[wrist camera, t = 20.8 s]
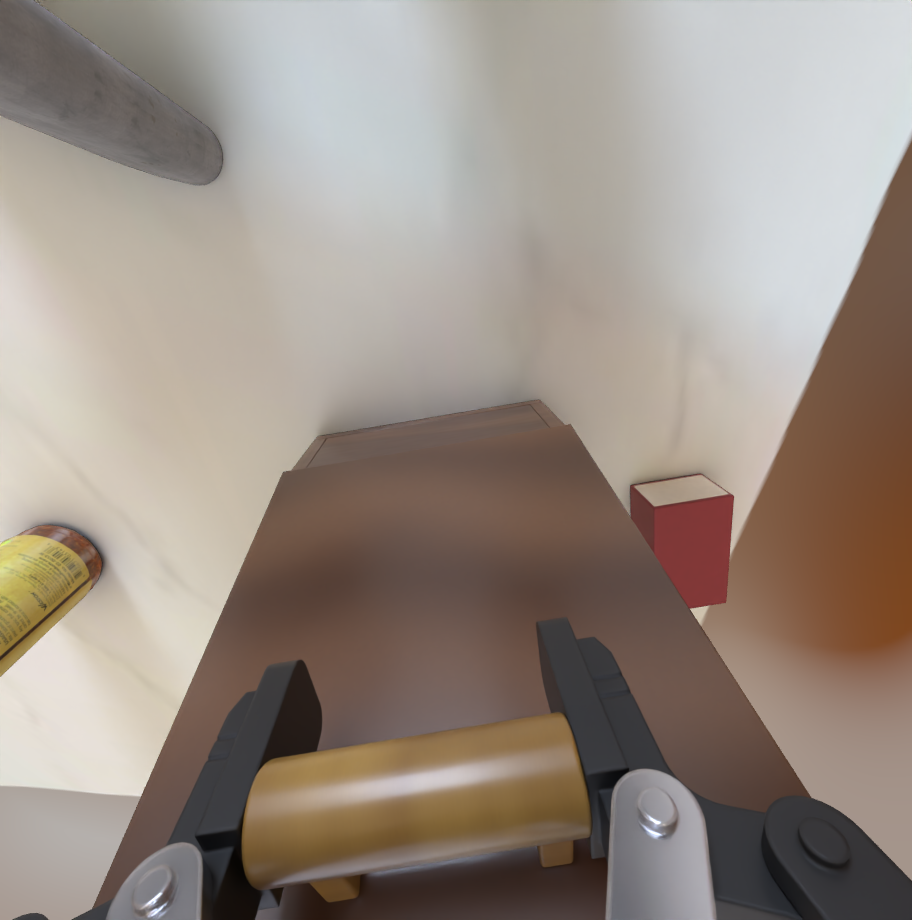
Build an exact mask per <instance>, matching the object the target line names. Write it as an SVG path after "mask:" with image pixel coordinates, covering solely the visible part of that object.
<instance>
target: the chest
mask: <svg viewBox="0 0 912 920" xmlns="http://www.w3.org/2000/svg"><path fill="white" fill-rule="evenodd" d="M562 425H565V424H564V423H563V422H562V421H561V420H560V419H559V418H558V417H557V416H556V415H555V414H554V413H553V412H552V411H551V410H550V409H549V408H548V407H547V406H546V405H545V404H544V403H543V402H542V401H541V400H533V401H527V402H521V403H515V404H509V405H503V406H497V407H491V408H485V409H479V410H473V411H467V412H461V413H455V414H449V415H443V416H437V417H431V418H425V419H419V420H413V421H407V422H401V423H395V424H389V425H383V426H377V427H371V428H365V429H359V430H353V431H347V432H341V433H335V434H329V435H323V436H318V437H316V439H315V440H314V441H313V442H312V444H311V445H310V446H309V448H308V449H307V450H306V452H305V453H304V454H303V456H302V457H301V458H300V460H299V461H298V462H297V464H296V465H295V466H294V467H293V469H292V470H298V469H304V468H310V467H316V466H322V465H328V464H334V463H340V462H346V461H352V460H358V459H364V458H370V457H376V456H382V455H388V454H394V453H400V452H406V451H412V450H418V449H424V448H430V447H436V446H442V445H448V444H454V443H460V442H466V441H472V440H478V439H484V438H490V437H496V436H502V435H508V434H514V433H520V432H526V431H532V430H538V429H544V428H550V427H556V426H562ZM292 470H291V471H292Z"/></svg>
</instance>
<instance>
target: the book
mask: <svg viewBox="0 0 912 920" xmlns="http://www.w3.org/2000/svg"><path fill="white" fill-rule="evenodd" d="M630 500H631V519H632V520H633V522H634V523H635V525H636V527H637V528H638V530H639V531H640V533H641V534H642V536H643V537H644V539H645V541H646V542H647V544H648V545H649V547H650V548H651V550H652V551H653V553H654V554H655V556H656V558H657V559H658V561H659V562H660V564H661V565H662V567H663V568H664V570H665V572H666V573H667V575H668V576H669V578H670V579H671V581H672V582H673V584H674V586H675V587H676V589H677V590H678V592H679V593H680V595H681V596H682V598H683V599H684V601H685V603H686V604H687V606H688V607H689V609H690V608H696V607H702V606H708V605H714V604H721V603H726V597H727V584H728V570H729V557H730V543H731V529H732V515H733V502H734V496H733V495H732V494H730V493H729V492H727V491H726V490H725V489H723V488H722V487H720V486H719V485H717V484H716V483H714V482H713V481H711V480H710V479H708V478H707V477H705V476H704V475H703V474H696V475H690V476H684V477H678V478H672V479H666V480H660V481H654V482H648V483H642V484H636V485H631V486H630Z"/></svg>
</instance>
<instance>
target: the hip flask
mask: <svg viewBox="0 0 912 920" xmlns="http://www.w3.org/2000/svg"><path fill="white" fill-rule="evenodd" d="M0 116H3V117H5V118H8V119H10V120H13V121H15V122H18V123H20V124H23V125H25V126H28V127H30V128H33V129H35V130H38V131H40V132H42V133H45V134H47V135H50V136H52V137H55V138H57V139H60V140H62V141H65V142H67V143H70V144H72V145H75V146H77V147H80V148H82V149H85V150H87V151H90V152H92V153H95V154H97V155H100V156H102V157H104V158H107V159H110V160H112V161H115V162H118V163H121V164H123V165H126V166H129V167H132V168H135V169H138V170H141V171H144V172H147V173H150V174H153V175H157V176H161V177H164V178H168V179H171V180H175V181H180V182H184V183H188V184H192V185H205V184H208V183H210V182H212V181H213V180H214V179H215V178H216V177H217V176H218V174H219V173H220V170H221V167H222V160H223V158H222V151H221V147H220V144H219V142H218V140H217V138H216V136H215V135H214V133H213V132H212V131H211V130H210V129H209V128H208V127H207V126H205V125H204V124H203V123H202V122H200V121H199V120H197V119H196V118H195V117H193V116H192V115H191V114H189V113H188V112H186V111H185V110H184V109H182V108H181V107H180V106H178V105H177V104H175V103H174V102H173V101H171V100H170V99H169V98H167V97H166V96H164V95H163V94H162V93H160V92H159V91H158V90H156V89H155V88H153V87H152V86H151V85H149V84H148V83H147V82H145V81H144V80H142V79H141V78H140V77H138V76H137V75H136V74H134V73H133V72H131V71H130V70H129V69H127V68H126V67H125V66H123V65H122V64H120V63H119V62H118V61H116V60H115V59H114V58H112V57H111V56H110V55H108V54H107V53H105V52H104V51H103V50H101V49H100V48H99V47H97V46H96V45H94V44H93V43H92V42H90V41H89V40H88V39H86V38H85V37H83V36H82V35H81V34H79V33H78V32H77V31H75V30H74V29H72V28H71V27H70V26H68V25H67V24H66V23H64V22H63V21H61V20H60V19H59V18H57V17H56V16H55V15H53V14H52V13H50V12H49V11H48V10H46V9H45V8H44V7H42V6H41V5H39V4H38V3H37V2H35V1H34V0H0Z"/></svg>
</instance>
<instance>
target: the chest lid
mask: <svg viewBox="0 0 912 920" xmlns="http://www.w3.org/2000/svg"><path fill="white" fill-rule="evenodd" d="M563 617H567V618H568V620H569V622H570V625H571V627H572V630H573V632H574V634H575V637H576V639H583V638H589V637H596V638H597V639H598V640H599V641H600V642H601V643H602V644H603V645H604V646H605V647H607V648H608V649H609V650H610V651H611V652H612V654H613V656H614V658H615V660H616V662H617V664H618V666H619V668H620V670H621V672H622V676H623V677H624V678H625V680H626V682H627V684H628V686H629V688H630V691H631V694H633V696H634V698H635V700H636V702H637V704H638V706H639V708H640V710H641V713H642V715H643V717H644V719H645V721H646V723H647V725H648V727H649V729H650V731H651V733H652V735H653V737H654V739H655V741H656V743H657V745H658V747H659V749H660V751H661V753H662V755H663V757H664V759H665V761H666V763H667V765H668V766H669V768H670V769H671V771H672V772H673V773H674V775H675V776H676V777H677V778H678V779H679V780H680V781H681V782H682V783H683V784H684V785H686V786H687V787H688V788H689V789H691V790H692V791H694V792H695V793H697V794H698V795H700V796H702V797H704V798H706V799H708V800H711V801H713V802H716V803H720V804H724V805H729V806H734V807H739V808H744V809H749V810H754V811H760V812H765V813H766V811H767V809H768V808H769V806H770V805H771V804H772V803H773V802H774V801H775V800H777V799H779V798H781V797H785V796H793V795H796V796H805V797H809V798H811V796H810V795H809V793H808V792H807V790H806V789H805V787H804V786H803V784H802V783H801V781H800V780H799V778H798V777H797V775H796V773H795V772H794V770H793V768H792V767H791V766H790V764H789V762H788V761H787V759H786V758H785V756H784V755H783V753H782V751H781V750H780V748H779V747H778V745H777V744H776V742H775V741H774V739H773V738H772V736H771V734H770V733H769V731H768V730H767V729H766V727H765V725H764V724H763V722H762V721H761V719H760V717H759V716H758V714H757V713H756V711H755V710H754V708H753V706H752V705H751V703H750V702H749V700H748V699H747V697H746V696H745V694H744V693H743V691H742V689H741V688H740V686H739V685H738V683H737V682H736V680H735V679H734V677H733V675H732V674H731V673H730V671H729V669H728V668H727V666H726V665H725V663H724V661H723V660H722V658H721V657H720V655H719V654H718V652H717V651H716V649H715V648H714V646H713V645H712V643H711V641H710V640H709V638H708V637H707V635H706V634H705V632H704V630H703V629H702V627H701V626H700V624H699V623H698V621H697V620H696V618H695V617H694V615H693V613H692V612H691V610H690V609H689V607H688V606H687V604H686V603H685V601H684V599H683V598H682V596H681V595H680V593H679V592H678V590H677V589H676V587H675V586H674V584H673V582H672V581H671V579H670V578H669V576H668V575H667V573H666V572H665V570H664V568H663V567H662V565H661V564H660V562H659V561H658V559H657V558H656V556H655V554H654V553H653V551H652V550H651V548H650V547H649V545H648V544H647V542H646V541H645V539H644V537H643V536H642V534H641V533H640V531H639V530H638V528H637V527H636V525H635V523H634V522H633V520H632V519H631V517H630V516H629V514H628V513H627V511H626V510H625V508H624V506H623V505H622V503H621V502H620V500H619V499H618V497H617V496H616V494H615V492H614V491H613V489H612V488H611V486H610V485H609V483H608V482H607V480H606V479H605V477H604V475H603V474H602V472H601V471H600V469H599V468H598V466H597V465H596V463H595V461H594V460H593V458H592V457H591V455H590V454H589V452H588V451H587V449H586V447H585V446H584V444H583V443H582V441H581V440H580V438H579V437H578V435H577V434H576V432H575V430H574V429H573V427H572V426H571V424H568V425H562V426H556V427H550V428H544V429H538V430H532V431H526V432H520V433H514V434H508V435H502V436H496V437H490V438H484V439H478V440H472V441H466V442H460V443H454V444H448V445H442V446H436V447H430V448H424V449H418V450H412V451H406V452H400V453H394V454H388V455H382V456H376V457H370V458H364V459H358V460H352V461H346V462H340V463H334V464H328V465H322V466H316V467H310V468H304V469H298V470H292V471H286V472H283V473H282V476H281V478H280V480H279V482H278V485H277V487H276V489H275V492H274V494H273V496H272V498H271V501H270V503H269V505H268V508H267V510H266V512H265V514H264V517H263V519H262V521H261V524H260V526H259V528H258V530H257V533H256V535H255V537H254V540H253V542H252V544H251V546H250V549H249V551H248V553H247V556H246V558H245V560H244V563H243V565H242V567H241V569H240V572H239V574H238V576H237V579H236V581H235V583H234V585H233V588H232V590H231V592H230V595H229V597H228V599H227V601H226V604H225V606H224V608H223V611H222V613H221V615H220V617H219V620H218V622H217V624H216V627H215V629H214V631H213V633H212V636H211V638H210V640H209V643H208V645H207V647H206V649H205V652H204V654H203V656H202V659H201V661H200V663H199V666H198V668H197V670H196V672H195V675H194V677H193V679H192V682H191V684H190V686H189V688H188V691H187V693H186V695H185V698H184V700H183V702H182V704H181V707H180V709H179V711H178V714H177V716H176V718H175V720H174V723H173V725H172V727H171V730H170V732H169V734H168V736H167V739H166V741H165V743H164V746H163V748H162V750H161V752H160V755H159V757H158V759H157V762H156V764H155V766H154V768H153V771H152V773H151V775H150V778H149V780H148V782H147V785H146V787H145V789H144V791H143V794H142V796H141V799H140V801H139V803H138V805H137V807H136V810H135V812H134V814H133V817H132V819H131V821H130V823H129V826H128V828H127V830H126V833H125V835H124V837H123V840H122V842H121V844H120V846H119V849H118V851H117V853H116V855H115V858H114V860H113V862H112V865H111V867H110V870H109V871H108V874H107V876H106V879H105V881H104V883H103V885H102V887H101V890H100V892H99V894H98V897H97V899H96V901H95V904H94V906H93V908H95V907H97V906H99V905H101V904H103V903H105V902H107V901H109V900H111V899H113V898H114V897H115V895H116V894H117V892H118V890H119V889H120V887H121V886H122V884H123V883H124V882H125V880H126V879H127V878H128V876H129V875H130V874H131V873H132V872H133V871H134V870H135V869H136V868H137V867H138V866H139V865H140V864H141V863H142V862H143V861H144V860H145V859H147V858H148V857H149V856H151V855H152V854H153V853H155V852H157V851H158V850H160V849H162V848H164V847H165V846H166V844H167V842H168V840H169V838H170V836H171V834H172V832H173V830H174V828H175V826H176V824H177V821H178V819H179V817H180V815H181V813H182V811H183V809H184V806H185V804H186V802H187V800H188V798H189V796H190V794H191V792H192V789H193V787H194V785H195V783H196V781H197V779H198V777H199V775H200V772H201V770H202V768H203V766H204V764H205V762H206V761H208V755H209V753H210V751H211V749H212V747H213V745H214V743H215V741H217V736H218V734H219V732H220V730H221V728H222V726H223V723H224V721H225V719H226V717H227V715H228V713H229V712H230V711H231V710H232V708H233V707H234V706H235V705H236V704H237V702H238V701H239V700H240V699H241V698H242V697H243V695H244V694H245V693H246V692H251V691H256V690H257V688H258V685H259V683H260V680H261V678H262V676H263V673H264V671H265V669H266V668H267V666H268V665H270V664H275V663H281V662H288V661H294V660H300V659H301V660H303V661H304V662H305V664H306V666H307V669H308V672H309V674H310V677H311V680H312V682H313V685H314V688H315V691H316V693H317V696H318V699H319V701H320V704H321V709H322V731H321V736H320V740H319V744H318V749H317V752H311V753H305V754H298V755H292V756H286V757H280V758H274V759H271V760H269V761H268V762H266V763H265V764H264V765H263V766H262V767H261V768H260V770H259V771H258V773H257V775H256V777H255V779H254V781H253V784H252V786H251V789H250V792H249V796H248V799H247V803H246V808H245V813H244V819H243V828H242V861H243V867H244V871H245V875H246V878H247V880H248V882H249V884H250V885H251V886H252V887H253V888H255V889H257V890H268V889H274V888H280V887H284V889H283V893H282V897H281V902H280V906H279V907H276V908H270V909H263V910H258V911H257V915H256V919H255V920H605V918H606V898H607V878H608V863H607V860H606V857H602V858H596V859H592V858H591V854H590V850H589V847H588V843H587V840H586V838H588V837H590V836H591V835H592V832H593V819H592V811H591V805H590V799H589V794H588V789H587V786H586V781H585V777H584V772H583V768H582V764H581V760H580V757H579V753H578V749H577V746H576V742H575V739H574V736H573V733H572V730H571V727H570V725H569V722H568V720H567V718H566V717H565V715H564V714H563V713H560V712H556V713H551V711H550V708H549V704H548V701H547V697H546V693H545V689H544V684H543V679H542V673H541V666H540V657H539V648H538V639H537V631H536V622H538V621H545V620H551V619H557V618H563ZM93 908H92V909H93Z"/></svg>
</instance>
